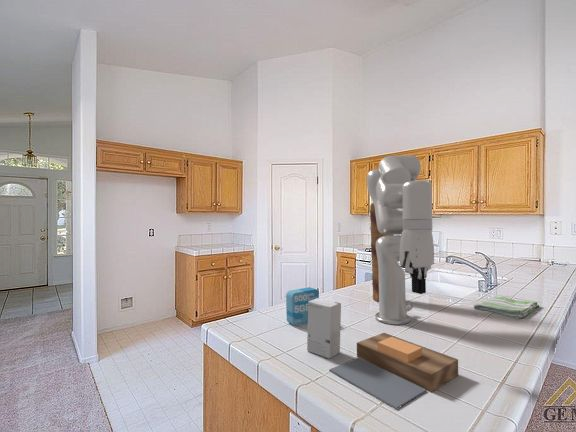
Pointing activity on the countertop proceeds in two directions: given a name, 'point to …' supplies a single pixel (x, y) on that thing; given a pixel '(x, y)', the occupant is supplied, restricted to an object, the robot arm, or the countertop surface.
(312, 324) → the skincare box
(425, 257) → the robot arm
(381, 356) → the brown wooden block
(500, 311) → the dish towel
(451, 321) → the countertop surface
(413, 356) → the tan foam pad
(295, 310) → the data package
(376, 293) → the brown wooden post
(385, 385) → the mat
